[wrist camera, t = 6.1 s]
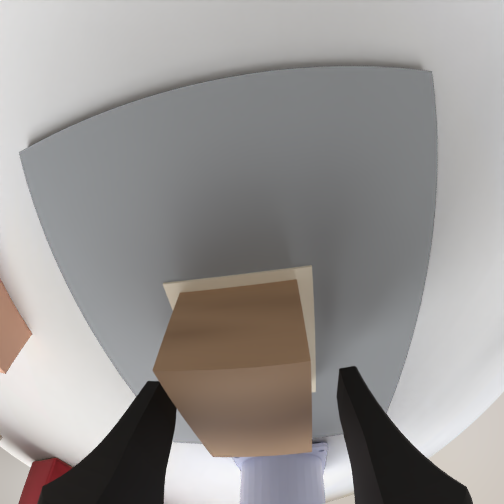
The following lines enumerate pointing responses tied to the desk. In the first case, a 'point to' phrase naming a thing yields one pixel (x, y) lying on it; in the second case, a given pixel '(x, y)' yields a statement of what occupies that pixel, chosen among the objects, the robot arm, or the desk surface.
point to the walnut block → (240, 369)
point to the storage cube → (41, 478)
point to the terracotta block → (10, 331)
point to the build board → (252, 213)
